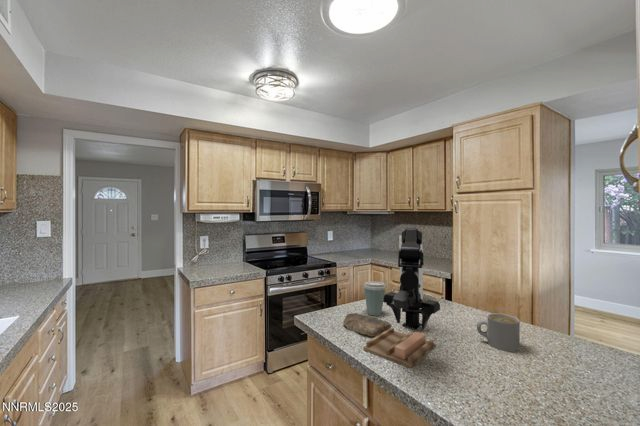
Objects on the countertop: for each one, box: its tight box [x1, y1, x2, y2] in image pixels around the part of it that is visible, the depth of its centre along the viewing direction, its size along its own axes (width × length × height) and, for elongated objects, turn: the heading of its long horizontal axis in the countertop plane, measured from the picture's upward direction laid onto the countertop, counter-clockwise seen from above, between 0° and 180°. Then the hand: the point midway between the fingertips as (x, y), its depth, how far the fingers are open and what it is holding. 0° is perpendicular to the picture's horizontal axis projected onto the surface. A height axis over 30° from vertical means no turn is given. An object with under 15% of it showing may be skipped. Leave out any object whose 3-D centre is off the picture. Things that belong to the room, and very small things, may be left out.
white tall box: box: [398, 234, 424, 300], centre depth 161 cm, size 11×11×35 cm
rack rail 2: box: [408, 338, 435, 363], centre depth 102 cm, size 18×1×2 cm, turn 137°
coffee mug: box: [476, 312, 521, 353], centre depth 110 cm, size 13×10×10 cm
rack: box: [363, 330, 437, 369], centre depth 107 cm, size 20×18×1 cm
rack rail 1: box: [365, 326, 395, 348], centre depth 113 cm, size 18×1×2 cm, turn 137°
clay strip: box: [395, 331, 426, 359], centre depth 104 cm, size 16×4×3 cm, turn 137°
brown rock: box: [342, 312, 393, 337], centre depth 126 cm, size 14×5×20 cm
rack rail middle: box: [386, 332, 414, 355], centre depth 107 cm, size 18×1×2 cm, turn 137°
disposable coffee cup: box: [363, 281, 387, 317], centre depth 142 cm, size 11×11×15 cm
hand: (410, 326), depth 104 cm, fingers open, 9 cm apart
